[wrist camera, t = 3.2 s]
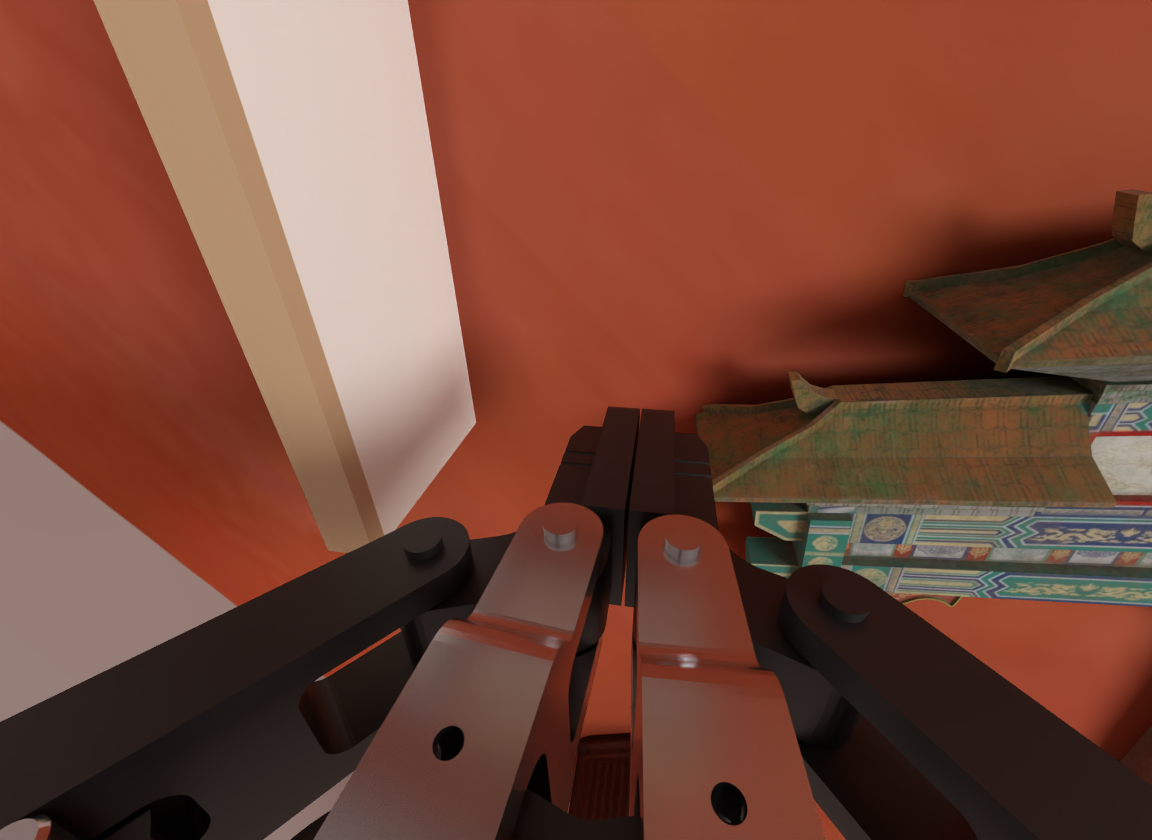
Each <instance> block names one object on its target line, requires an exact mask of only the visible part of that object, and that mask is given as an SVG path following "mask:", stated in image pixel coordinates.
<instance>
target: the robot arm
mask: <svg viewBox="0 0 1152 840" xmlns="http://www.w3.org/2000/svg"><path fill="white" fill-rule="evenodd" d="M639 418H640V409H637V408H622V407H608V409H607V412H606V416H605V420H604V423H603V427H595V426H583V427H582V428H581V429H580V430H578V431H577V432H576V433H575V434H573V435H572V436H571V437H570V440H569V443H568V445H567V448H566V452H565V453H564V456H563V458H562V461H561V465H560V466H559V469H558V471H557V474H556V477H555V479H554V482H553V484H552V487H551V490H550V492H549V495H548V497H547V500H546V503H545V505H544V506H542V507H539V508H537V509H536V510H534V511H532V512H531V513H530V514H528V515H527V516H526V517H525V518H524V520H523V521H522V523H521V525H520V526H519V528H518V530H517V531H516V532H514V533H511V534H507V535H502V536H496V537H489V538H481V539H473V540H470V539H469V535H468V532H467V530H466V529H465V527H464V526H463V525H462V524H460V523H459V522H457V521H455V520H452V519H449V518H444V517H432V518H425V519H420V520H417V521H414V522H412V523H409V524H407V525H405V526H403V527H401V528H399V529H396V530H394V531H392V532H390V533H388V534H386V535H384V536H382V537H380V538H378V539H376V540H374V541H372V542H370V543H368V544H366V545H364V546H362V547H359V548H357V549H355V550H353V551H351V552H349V553H347V554H345V555H343V556H341V557H339V558H337V559H335V560H333V561H331V562H329V563H327V564H324V565H322V566H320V567H318V568H316V569H314V570H312V571H310V572H308V573H306V574H304V575H302V576H300V577H298V578H296V579H294V580H292V581H289V582H287V583H285V584H283V585H281V586H279V587H277V588H275V589H273V590H271V591H269V592H267V593H265V594H263V595H261V596H259V597H257V598H255V599H252V600H250V601H248V602H246V603H244V604H242V605H240V606H238V607H236V608H234V609H232V610H230V611H228V612H226V613H224V614H222V615H220V616H217V617H215V618H213V619H211V620H209V621H207V622H205V623H203V624H201V625H199V626H197V627H195V628H193V629H191V630H189V631H187V632H185V633H183V634H181V635H179V636H176V637H174V638H172V639H170V640H168V641H166V642H164V643H162V644H160V645H158V646H156V647H154V648H152V649H150V650H148V651H146V652H144V653H142V654H140V655H137V656H135V657H133V658H131V659H129V660H127V661H125V662H123V663H121V664H119V665H117V666H115V667H113V668H111V669H109V670H107V671H104V672H102V673H100V674H98V675H96V676H94V677H92V678H90V679H88V680H86V681H84V682H82V683H80V684H78V685H76V686H73V687H71V688H70V689H67V690H65V691H64V692H61V693H59V694H57V695H55V696H53V697H51V698H49V699H47V700H45V701H43V702H41V703H39V704H37V705H34V706H32V707H30V708H28V709H26V710H24V711H23V712H20V713H18V714H16V715H14V716H12V717H10V718H8V719H6V720H4V721H2V722H0V840H263V839H264V838H266V837H267V836H268V835H270V834H271V833H272V832H274V831H275V830H276V829H278V828H279V827H280V826H282V825H283V824H284V823H286V822H287V821H288V820H290V819H291V818H292V817H294V816H295V815H296V814H298V813H299V812H300V811H301V810H303V809H304V808H305V807H307V806H308V805H309V804H311V803H312V802H313V801H315V800H316V799H317V798H319V797H320V796H321V795H323V794H324V793H325V792H327V791H328V790H329V789H331V788H332V787H333V786H334V785H336V784H337V783H338V782H340V781H341V780H342V779H344V778H345V777H346V776H348V775H349V774H350V773H351V772H353V771H354V770H355V771H354V773H353V774H352V776H351V777H350V779H349V781H348V782H347V784H346V786H345V787H344V789H343V791H342V793H341V794H340V796H339V798H338V799H337V801H336V803H335V804H334V806H333V808H332V809H331V811H329V812H327V813H326V814H324V815H323V816H321V817H320V818H318V819H317V820H315V821H314V822H313V823H311V824H310V825H309V826H307V827H306V828H305V829H303V830H302V831H301V832H299V833H298V834H297V835H296V836H294V837H293V838H292V839H291V840H825V837H824V833H823V830H822V826H821V822H820V819H819V815H818V812H817V808H816V805H815V801H816V802H817V804H818V805H819V806H820V807H821V809H822V810H823V811H824V812H825V814H826V815H827V816H828V817H829V819H830V820H831V821H832V822H833V824H834V825H835V826H836V827H837V829H838V830H839V831H840V832H841V834H842V835H843V836H844V837H845V839H846V840H1152V785H1150V784H1149V783H1148V782H1146V781H1145V780H1143V779H1142V778H1141V777H1139V776H1138V775H1137V774H1135V773H1134V772H1132V771H1131V770H1130V769H1128V768H1127V767H1126V766H1124V765H1123V764H1121V763H1120V762H1119V761H1117V760H1116V759H1115V758H1113V757H1112V756H1111V755H1109V754H1108V753H1106V752H1105V751H1104V750H1102V749H1101V748H1100V747H1098V746H1097V745H1095V744H1094V743H1093V742H1091V741H1090V740H1089V739H1087V738H1086V737H1084V736H1083V735H1082V734H1080V733H1079V732H1078V731H1076V730H1075V729H1073V728H1072V727H1071V726H1069V725H1068V724H1067V723H1065V722H1064V721H1062V720H1061V719H1060V718H1058V717H1057V716H1056V715H1054V714H1053V713H1051V712H1050V711H1049V710H1047V709H1046V708H1045V707H1043V706H1042V705H1040V704H1039V703H1038V702H1036V701H1035V700H1034V699H1032V698H1031V697H1029V696H1028V695H1027V694H1025V693H1024V692H1023V691H1021V690H1020V689H1018V688H1017V687H1016V686H1014V685H1013V684H1012V683H1010V682H1009V681H1007V680H1006V679H1005V678H1003V677H1002V676H1001V675H999V674H998V673H997V672H995V671H994V670H992V669H991V668H990V667H988V666H987V665H986V664H984V663H983V662H981V661H980V660H979V659H977V658H976V657H975V656H973V655H972V654H970V653H969V652H968V651H966V650H965V649H964V648H962V647H961V646H959V645H958V644H957V643H955V642H954V641H953V640H951V639H950V638H948V637H947V636H946V635H944V634H943V633H942V632H940V631H939V630H937V629H936V628H935V627H933V626H932V625H931V624H929V623H928V622H926V621H925V620H924V619H922V618H921V617H920V616H918V615H917V614H915V613H914V612H913V611H911V610H910V609H909V608H907V607H906V606H904V605H903V604H902V603H900V602H899V601H898V600H896V599H895V598H894V597H892V596H891V595H889V594H888V593H887V592H885V591H884V590H883V589H881V588H880V587H878V586H877V585H876V584H874V583H873V582H871V581H870V580H868V579H867V578H865V577H863V576H861V575H859V574H857V573H855V572H852V571H850V570H847V569H844V568H841V567H837V566H832V565H824V564H814V565H808V566H804V567H801V568H799V569H797V570H796V571H795V572H793V573H792V575H791V576H790V577H789V579H788V578H785V577H783V576H780V575H777V574H774V573H772V572H769V571H766V570H764V569H761V568H759V567H756V566H754V565H752V564H750V563H748V562H746V561H744V560H743V559H741V558H740V557H739V556H737V555H736V554H735V553H734V552H732V551H731V550H730V549H729V547H728V545H727V542H726V540H725V539H724V537H723V536H722V534H721V533H720V532H719V530H718V525H717V516H716V508H715V500H714V492H713V483H712V478H711V467H710V459H709V451H708V447H707V446H706V444H705V443H704V442H703V441H702V440H701V439H700V437H699V436H698V435H697V434H689V433H676V432H674V411H668V410H653V409H642V415H641V422H640V430H639ZM626 560H627V564H626ZM625 569H626V587H625V606H629V607H634V613H633V631H632V646H631V756H630V795H629V816H627V817H618V818H608V819H598V820H582V819H578V818H576V817H574V816H572V815H570V814H568V813H567V812H568V807H569V801H570V795H571V789H572V781H573V772H574V764H575V758H576V753H577V748H578V744H579V739H580V735H581V731H582V727H583V722H584V718H585V714H586V710H587V705H588V701H589V697H590V693H591V688H592V684H593V680H594V676H595V671H596V667H597V663H598V659H599V654H600V650H601V646H602V634H603V632H604V630H605V626H606V620H607V614H608V607H609V604H613V605H620V606H621V602H622V593H623V585H624V577H625ZM399 628H400V629H401V632H400V633H398V634H396V635H395V636H393V637H392V638H390V639H388V640H387V641H385V642H383V643H382V644H380V645H379V646H377V647H375V648H374V649H372V650H371V651H369V652H367V653H366V654H364V655H363V656H361V657H359V658H358V659H356V660H355V661H353V662H351V663H350V664H348V665H347V666H345V667H343V668H342V669H340V670H338V671H337V672H335V673H334V674H332V675H330V676H329V677H327V678H325V679H323V680H320V681H316V682H314V681H315V680H316V679H318V678H319V677H321V676H322V675H324V674H326V673H327V672H329V671H330V670H332V669H334V668H335V667H337V666H339V665H340V664H342V663H343V662H345V661H347V660H348V659H350V658H352V657H353V656H355V655H356V654H358V653H360V652H361V651H363V650H365V649H366V648H368V647H369V646H371V645H373V644H374V643H376V642H378V641H379V640H381V639H382V638H384V637H386V636H387V635H389V634H391V633H392V632H394V631H395V630H397V629H399ZM814 800H815V801H814Z"/></svg>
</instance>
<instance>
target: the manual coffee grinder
mask: <svg viewBox="0 0 1152 840" xmlns="http://www.w3.org/2000/svg"><path fill="white" fill-rule="evenodd" d="M630 756H631V734H618V735H604V736H591V737H586V738H583V739H581V740H579V744H578V757H577V763H576V770H575V776H574V782H573V788H572V794H571V800H570V806H569V812H568V814H570V815H572V816H574V817H576V818H578V819H582V820H598V819H608V818H618V817H627V816H629V795H630Z"/></svg>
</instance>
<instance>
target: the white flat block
mask: <svg viewBox="0 0 1152 840" xmlns="http://www.w3.org/2000/svg"><path fill="white" fill-rule="evenodd" d="M94 3H95V5H96V7H97V10H98V12H99V14H100V17H101V19H102V21H103V24H104V26H105V28H106V31H107V33H108V36H109V38H110V40H111V43H112V45H113V47H114V50H115V52H116V54H117V57H118V59H119V61H120V64H121V66H122V68H123V71H124V73H125V75H126V78H127V80H128V82H129V85H130V87H131V89H132V92H133V94H134V96H135V99H136V101H137V103H138V106H139V108H140V111H141V113H142V115H143V118H144V120H145V122H146V125H147V127H148V129H149V132H150V134H151V136H152V139H153V141H154V143H155V146H156V148H157V150H158V153H159V155H160V157H161V160H162V162H163V164H164V167H165V169H166V171H167V174H168V176H169V178H170V181H171V183H172V186H173V188H174V190H175V193H176V195H177V197H178V200H179V202H180V204H181V207H182V209H183V211H184V214H185V216H186V218H187V221H188V223H189V225H190V228H191V230H192V232H193V235H194V237H195V239H196V242H197V244H198V246H199V249H200V251H201V254H202V256H203V258H204V261H205V263H206V265H207V268H208V270H209V272H210V275H211V277H212V279H213V282H214V284H215V286H216V289H217V291H218V293H219V296H220V298H221V300H222V303H223V305H224V307H225V310H226V312H227V314H228V317H229V319H230V321H231V324H232V326H233V329H234V331H235V333H236V336H237V338H238V340H239V343H240V345H241V347H242V350H243V352H244V354H245V357H246V359H247V361H248V364H249V366H250V368H251V371H252V373H253V375H254V378H255V380H256V382H257V385H258V387H259V389H260V392H261V394H262V396H263V399H264V401H265V404H266V406H267V408H268V411H269V413H270V415H271V418H272V420H273V422H274V425H275V427H276V429H277V432H278V434H279V436H280V439H281V441H282V443H283V446H284V448H285V450H286V453H287V455H288V457H289V460H290V462H291V464H292V467H293V469H294V471H295V474H296V476H297V479H298V481H299V483H300V486H301V488H302V490H303V493H304V495H305V497H306V500H307V502H308V504H309V507H310V509H311V511H312V514H313V516H314V518H315V521H316V523H317V525H318V528H319V530H320V532H321V535H322V537H323V539H324V542H325V544H326V547H327V549H328V550H329V551H336V552H344V553H349V552H351V551H353V550H355V549H357V548H359V547H362V546H364V545H366V544H368V543H370V542H372V541H374V540H376V539H378V538H380V537H382V536H384V535H386V534H388V533H390V532H392V531H394V530H395V529H396V528H397V527H398V525H399V524H400V523H401V521H402V520H403V519H404V518H405V516H406V515H407V514H408V512H409V511H410V510H411V508H412V507H413V506H414V504H415V503H416V502H417V500H418V499H419V498H420V496H421V495H422V494H423V492H424V491H425V490H426V488H427V487H428V486H429V484H430V483H431V482H432V481H433V479H434V478H435V477H436V475H437V474H438V473H439V471H440V470H441V469H442V467H443V466H444V465H445V463H446V462H447V461H448V459H449V458H450V457H451V455H452V454H453V453H454V451H455V450H456V449H457V447H458V446H459V445H460V444H461V442H462V441H463V440H464V438H465V437H466V436H467V434H468V433H469V432H470V430H471V429H472V428H473V426H474V425H475V424H476V419H475V413H474V407H473V400H472V394H471V388H470V382H469V376H468V370H467V364H466V357H465V351H464V345H463V339H462V333H461V327H460V320H459V314H458V308H457V302H456V296H455V290H454V283H453V277H452V271H451V265H450V259H449V253H448V246H447V240H446V234H445V228H444V222H443V216H442V209H441V203H440V197H439V191H438V185H437V179H436V173H435V166H434V160H433V154H432V148H431V142H430V136H429V129H428V123H427V117H426V111H425V105H424V99H423V92H422V86H421V80H420V74H419V68H418V62H417V55H416V49H415V43H414V37H413V31H412V25H411V19H410V12H409V6H408V0H94Z"/></svg>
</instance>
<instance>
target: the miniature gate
mask: <svg viewBox="0 0 1152 840" xmlns="http://www.w3.org/2000/svg"><path fill="white" fill-rule="evenodd" d="M1111 235H1112V236H1113V237H1114V238H1113V239H1110V240H1108V241H1105V242H1101V243H1098V244H1094V245H1090V246H1087V247H1083V248H1080V249H1076V250H1073V251H1069V252H1066V253H1062V254H1058V255H1055V256H1051V257H1048V258H1044V259H1041V260H1037V261H1033V262H1030V263H1026V264H1023V265H1018V266H1011V267H1004V268H997V269H990V270H983V271H976V272H969V273H962V274H955V275H948V276H941V277H933V278H926V279H919V280H909V281H905V287H904V293H903V297H910V298H911V299H912V300H914V301H915V302H916V303H918V304H919V305H920V306H922V307H923V308H924V309H925V310H927V311H928V312H929V313H931V314H932V315H933V316H935V317H936V318H937V319H938V320H940V321H941V322H942V323H944V324H945V325H946V326H948V327H949V328H950V329H951V330H953V331H954V332H955V333H957V334H958V335H959V336H961V337H962V338H963V339H964V340H966V341H967V342H968V343H970V344H971V345H972V346H974V347H975V348H976V349H977V350H979V351H980V352H981V353H983V354H984V355H985V356H987V357H988V358H989V359H990V360H992V361H993V362H994V363H996V366H995V368H994V370H996V371H1000V372H1004V373H1006V372H1008V371H1009V370H1010V369H1017V370H1024V371H1032V372H1040V373H1048V374H1055V375H1061V376H1055V377H1031V378H1006V379H981V380H957V381H932V382H907V383H883V384H858V385H833V386H829V387H826V388H821V387H818V386H815V385H811V384H809V383H808V382H807V381H806V380H805V379H803V378H802V376H801V375H800V374H799V373H798V372H797V371H787V373H788V377H789V382H790V386H791V390H792V393H793V397H794V398H790V399H784V400H779V401H773V402H768V403H762V404H757V405H745V404H717V403H711V404H706V405H702V407H703V412H701V413H698V414H696V426H697V435H698V436H699V437H700V439H701V440H702V441H703V442H704V443H705V444H706V446H707V447H708V451H709V459H710V467H711V478H712V483H713V492H714V500H715V502H750V504H751V509H752V515H753V520H754V525H755V526H756V527H758V528H760V529H762V530H765V531H767V532H769V533H771V534H773V535H775V536H777V537H779V538H777V537H746V548H745V558H746V562H748V563H750V564H752V565H754V566H756V567H759V568H761V569H764V570H766V571H769V572H772V573H774V574H777V575H780V576H783V577H785V578H788V579H789V577H790V576H791V575H792V573H793V572H795V571H796V570H797V569H799V568H801V567H804V566H808V565H814V564H824V565H832V566H837V567H841V568H844V569H847V570H850V571H852V572H855V573H857V574H859V575H861V576H863V577H865V578H867V579H868V580H870V581H871V582H873V583H874V584H876V585H877V586H878V587H880V588H881V589H883V590H884V591H885V592H887V593H888V594H889V595H891V596H892V597H894V598H895V599H896V600H898V601H899V602H900V603H902V604H906V603H909V602H913V601H916V600H924V599H929V600H936V601H940V602H943V603H945V604H946V605H948V606H949V607H954V606H955V605H956V604H957V603H958V602H959V600H960V599H961V598H962V597H981V598H999V599H1017V600H1035V601H1053V602H1071V603H1089V604H1107V605H1125V606H1143V607H1152V193H1149V192H1143V191H1137V190H1125V191H1116V199H1115V206H1114V214H1113V221H1112V234H1111ZM1119 762H1120V763H1121V764H1123V765H1124V766H1126V767H1127V768H1128V769H1130V770H1131V771H1132V772H1134V773H1135V774H1137V775H1138V776H1139V777H1141V778H1142V779H1143V780H1145V781H1146V782H1148V783H1149V784H1150V785H1152V725H1151V727H1150V728H1149V729H1148V730H1147V731H1146V732H1145V733H1144V734H1143V736H1142V737H1141V738H1140V739H1139V740H1138V741H1137V742H1136V743H1135V745H1134V746H1133V747H1132V748H1131V749H1130V750H1129V751H1128V752H1127V754H1126V755H1125V756H1124V757H1123V758H1122V759H1121V760H1120V761H1119Z"/></svg>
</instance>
